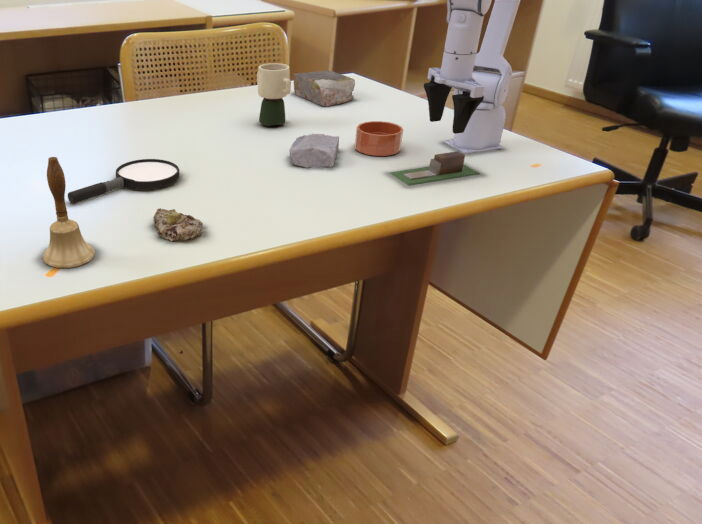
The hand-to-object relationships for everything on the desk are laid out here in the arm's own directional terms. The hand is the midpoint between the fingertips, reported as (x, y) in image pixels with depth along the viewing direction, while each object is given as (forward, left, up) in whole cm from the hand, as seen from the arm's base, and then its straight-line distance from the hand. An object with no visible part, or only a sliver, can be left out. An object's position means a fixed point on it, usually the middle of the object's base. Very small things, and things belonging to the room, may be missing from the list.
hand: (446, 126), depth 132 cm
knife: (+2, +1, -9) cm, 9 cm away
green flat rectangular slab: (+1, +1, -9) cm, 9 cm away
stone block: (+20, -16, -9) cm, 27 cm away
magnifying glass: (+61, -15, -9) cm, 63 cm away
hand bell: (+76, +10, -9) cm, 77 cm away
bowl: (+5, -15, -9) cm, 19 cm away
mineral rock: (+57, +7, -9) cm, 58 cm away
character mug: (+19, -40, -9) cm, 45 cm away
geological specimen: (-3, -56, -9) cm, 57 cm away
